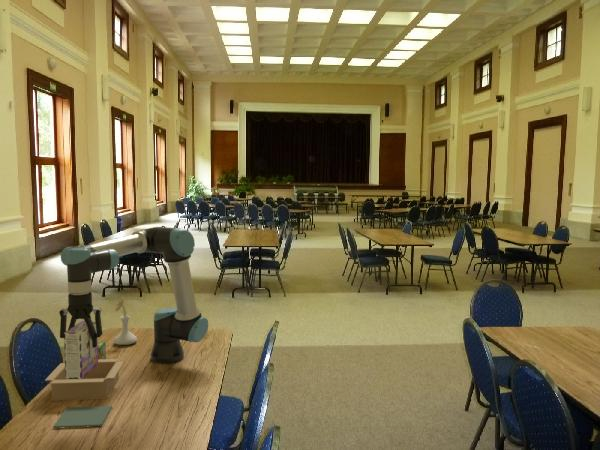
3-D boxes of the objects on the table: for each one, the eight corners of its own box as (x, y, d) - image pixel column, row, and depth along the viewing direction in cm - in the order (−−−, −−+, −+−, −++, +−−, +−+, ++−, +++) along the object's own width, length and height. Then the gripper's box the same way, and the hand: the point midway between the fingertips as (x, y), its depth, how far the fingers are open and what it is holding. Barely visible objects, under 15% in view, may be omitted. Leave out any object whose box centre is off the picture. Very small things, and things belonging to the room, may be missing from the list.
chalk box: (101, 374, 219) (100, 341, 218) (79, 374, 218) (78, 341, 217) (107, 366, 228) (106, 334, 227) (85, 366, 227) (84, 334, 226)
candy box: (83, 363, 186) (81, 320, 184) (98, 364, 186) (97, 320, 184) (64, 379, 172) (62, 332, 171) (81, 379, 172) (80, 332, 170)
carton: (126, 376, 217) (125, 358, 216) (112, 401, 194) (111, 381, 193) (64, 378, 214) (63, 360, 213) (42, 403, 191) (41, 383, 190)
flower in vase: (116, 339, 263) (115, 292, 261) (139, 339, 265) (138, 292, 262) (110, 348, 251) (109, 299, 248) (134, 347, 252) (133, 298, 249)
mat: (112, 407, 189) (112, 405, 189) (101, 426, 175) (101, 424, 175) (67, 409, 187) (67, 407, 187) (53, 428, 173) (53, 426, 173)
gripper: (111, 289, 181) (113, 352, 183) (54, 290, 179) (57, 353, 181) (105, 294, 173) (107, 359, 176) (46, 295, 171) (49, 361, 174)
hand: (82, 356), depth 179 cm, fingers closed on candy box, 6 cm apart
